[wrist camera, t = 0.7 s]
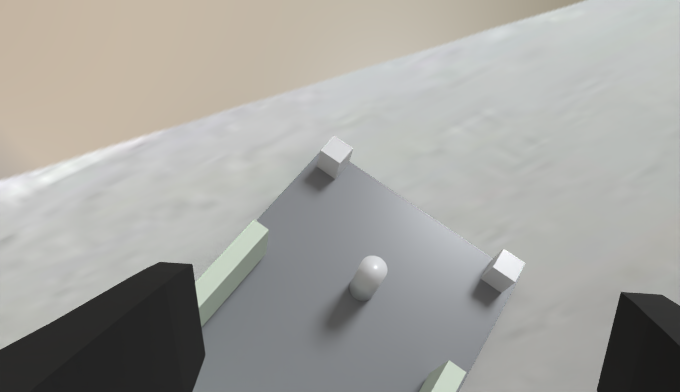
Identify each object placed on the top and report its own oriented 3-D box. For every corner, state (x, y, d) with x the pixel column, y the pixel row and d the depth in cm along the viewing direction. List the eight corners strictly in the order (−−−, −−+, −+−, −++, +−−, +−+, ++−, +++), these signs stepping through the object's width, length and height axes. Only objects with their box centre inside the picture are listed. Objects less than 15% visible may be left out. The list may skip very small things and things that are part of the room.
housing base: (336, 608, 20) (353, 627, 17) (95, 404, 22) (73, 388, 19) (511, 283, 28) (544, 256, 25) (323, 155, 30) (333, 116, 27)
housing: (341, 571, 19) (354, 580, 17) (121, 388, 21) (108, 375, 19) (444, 384, 23) (466, 372, 21) (252, 243, 25) (254, 219, 23)
